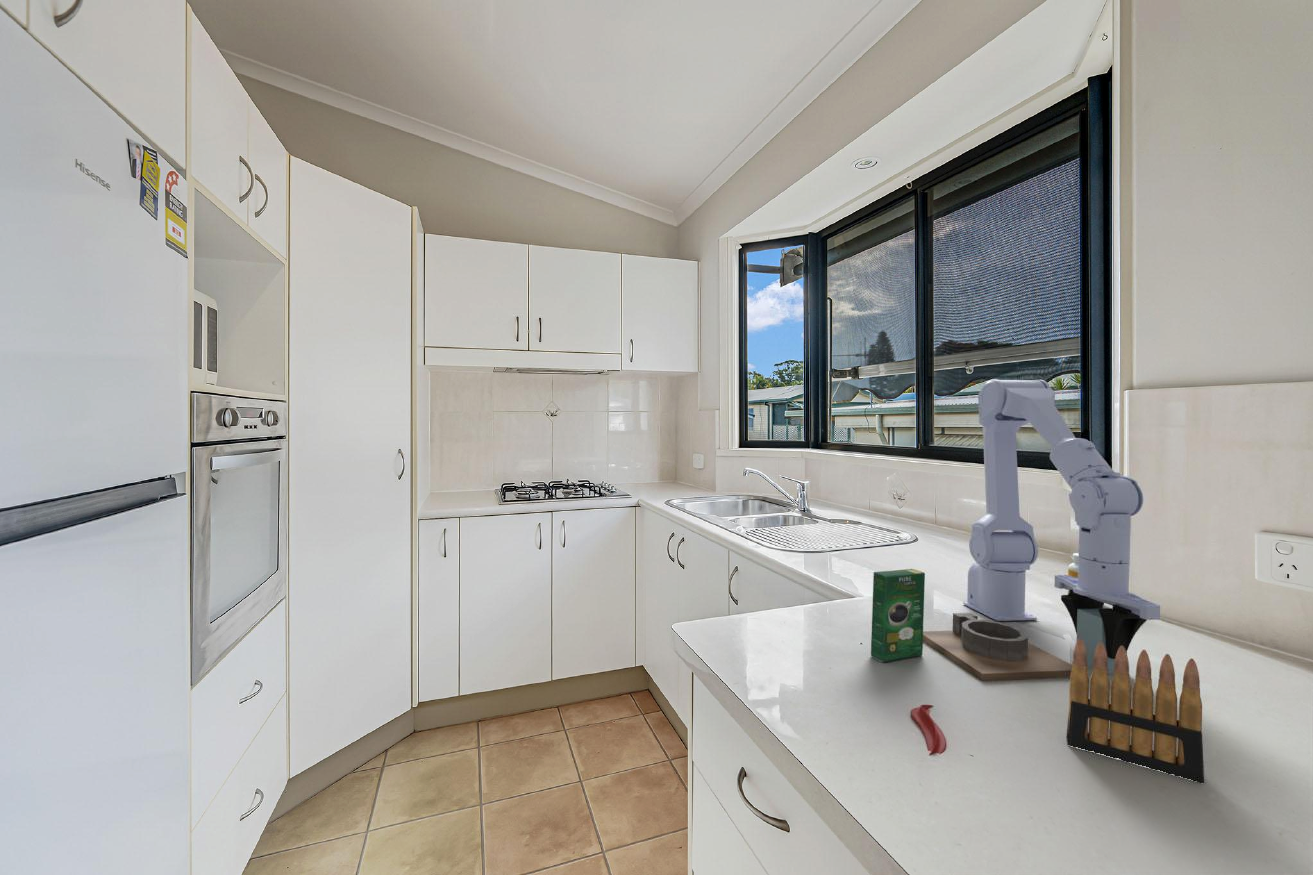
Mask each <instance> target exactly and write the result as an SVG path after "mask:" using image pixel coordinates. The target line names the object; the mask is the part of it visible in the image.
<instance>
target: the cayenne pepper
mask: <svg viewBox="0 0 1313 875" xmlns="http://www.w3.org/2000/svg"><path fill="white" fill-rule="evenodd" d="M933 707H934V705H932V704H921V705H920V706H918V707H915V708H912V709H911V710H910V715H911V716H910V717H911V718H912V720H913V721H914V723H915V724H916V725H917V726H918V727H919V728H920V730H921V732H922V733H923V735H924V737H925V741H926V745H927V746H926V747H927V751H929V752H930V753H929V754H928V756H932V755H934V754H939V755H941V754H943V753H944V751H945V749H946V747H947V739H946V736H945V734H944V732H943V731H942V729H941V728H940V727H939V725H937V723H936V722H935V721H934V720H933V718H932V717H931V716H930V712H931V708H933Z"/></svg>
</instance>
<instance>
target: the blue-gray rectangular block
mask: <svg viewBox="0 0 1313 875" xmlns="http://www.w3.org/2000/svg"><path fill="white" fill-rule="evenodd" d="M1079 638H1081V639H1082V640H1083V642H1084V645H1085V649H1086V656H1087V669H1090V670H1093V660H1094V653H1095V650H1096V647H1097V645H1098V643H1099V642H1102V643H1103V645H1104V647H1105V650H1106V635H1105V628H1104V624H1103V621H1102V618H1101V615H1100V613H1099V608H1096V609H1077V634H1076V641H1077V640H1078V639H1079ZM1106 654H1107V651H1106ZM1107 662H1108V667H1107V669H1108V675H1113V674H1114V664H1115V659H1111V658H1109V657H1108V656H1107Z"/></svg>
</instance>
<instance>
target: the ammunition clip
mask: <svg viewBox="0 0 1313 875" xmlns="http://www.w3.org/2000/svg"><path fill="white" fill-rule="evenodd" d="M1072 655H1073V656H1072V671H1071V674H1070V677H1069V697H1068V698H1069V702H1068V717H1067V727H1066V729H1067V730H1066V744H1067V746H1069V745H1070V746H1073V747H1078V748H1081V749H1085V750H1088V751H1094V752H1095V753H1100V754H1104V755H1106V756H1110V757H1113V758H1119V759H1121V760H1123V761H1126V762H1131V763H1135V764H1138V765H1142V766H1146V767H1149V768H1151V769H1155V770H1160V771H1163V772H1166V773H1168V774H1167V775H1169V774H1174V775H1175V776H1174V777H1176V776H1181V777H1183V778H1187V779H1191V780H1193V781H1192V782H1194V781H1197V782H1196V783H1198V782H1199V784H1201V783H1203V784H1205V768H1204V766H1205V765H1204V747H1203V746H1204V742H1203V730H1202V729H1203V703H1202V702H1203V701H1202V698H1201V688H1200V686H1201V685H1200V684H1201V683H1200V682H1201V680H1200V673H1199V670H1198V669H1199V668H1198V665H1197V663H1196V661H1195V659H1194V658H1190V659H1188V661H1187V663H1186V665H1185V667H1184V671H1183V677H1182V684H1181V686H1182V687H1181V694H1180V695H1179V696H1180V697H1179V706H1178V696H1177V695H1178V694H1177V690H1176V688H1177V687H1176V672H1175V671H1176V670H1175V666H1174V662H1173V659H1172V657H1171V655H1170V654H1168V653H1166V654H1165V655H1164V656H1163V658H1162V660H1161V663H1160V667H1159V673H1158V675H1159V677H1158V682H1157V683H1158V684H1157V688H1156V691H1155V694H1154V689H1153V682H1152V681H1153V679H1152V666H1151V661H1150V657H1149V654H1148V651H1147V650H1146V649H1142V650H1141V651H1140V654H1139V655H1138V657H1137V661H1136V668H1135V678H1134V683H1133V687H1132V685H1131V682H1130V663H1129V657H1128V652H1127V653H1126V650H1125V648H1124V646H1120V647H1119V649H1118V651H1117V654H1116V658H1115V664H1114V674H1112V675H1113V676H1112V680H1111V683H1110V678H1109V674H1108V669H1107V667H1108V662H1107V654H1106V650H1105V647H1104V645H1103V643H1102V642H1099V643H1098V645H1097V647H1096V650H1095V653H1094V660H1093V670H1092V669H1091V670H1092V672H1091V675H1090V679H1089V674H1088V667H1087V656H1086V649H1085V645H1084V642H1083V640H1082V639H1081V638H1079V639H1078V640H1077V639H1076V643H1075V645H1074V649H1073V653H1072ZM1154 695H1155V700H1154ZM1154 701H1155V704H1154ZM1154 705H1155V708H1154ZM1178 707H1179V708H1178ZM1070 746H1069V747H1070ZM1123 761H1122V762H1123ZM1126 762H1125V763H1126ZM1151 769H1150V770H1151ZM1155 770H1154V771H1155ZM1166 773H1165V774H1166ZM1183 778H1182V779H1183ZM1187 779H1186V780H1187ZM1191 780H1190V781H1191ZM1203 784H1202V785H1203Z"/></svg>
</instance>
